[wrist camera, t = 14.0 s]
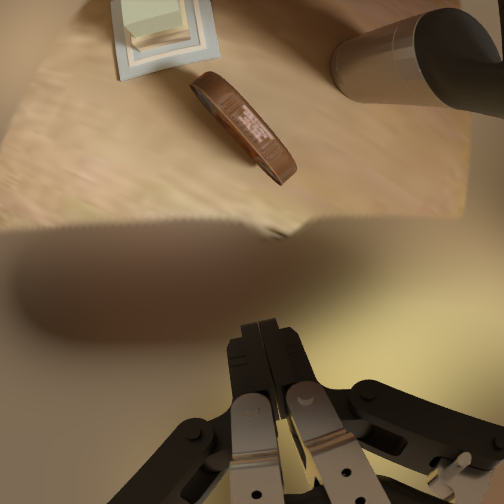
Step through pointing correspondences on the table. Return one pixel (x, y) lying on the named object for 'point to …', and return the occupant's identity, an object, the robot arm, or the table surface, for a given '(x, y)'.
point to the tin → (245, 126)
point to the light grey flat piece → (168, 55)
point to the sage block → (150, 16)
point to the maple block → (164, 34)
